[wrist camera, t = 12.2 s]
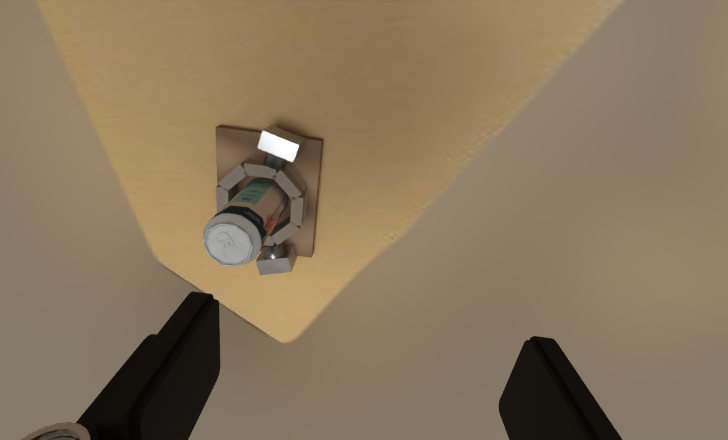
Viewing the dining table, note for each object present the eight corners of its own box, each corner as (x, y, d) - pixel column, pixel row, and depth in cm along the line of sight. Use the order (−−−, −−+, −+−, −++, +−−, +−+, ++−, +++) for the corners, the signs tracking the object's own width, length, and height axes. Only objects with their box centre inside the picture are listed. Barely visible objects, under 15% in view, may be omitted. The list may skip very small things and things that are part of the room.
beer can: (262, 222, 41) (223, 280, 30) (237, 188, 39) (185, 235, 28) (297, 203, 40) (269, 255, 29) (272, 167, 38) (233, 207, 27)
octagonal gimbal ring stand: (220, 125, 38) (203, 131, 34) (322, 139, 38) (317, 147, 34) (223, 241, 43) (209, 258, 39) (313, 252, 44) (307, 270, 40)
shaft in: (295, 166, 38) (288, 175, 35) (263, 153, 38) (253, 161, 34) (305, 138, 37) (298, 145, 34) (272, 124, 36) (262, 130, 33)
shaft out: (261, 235, 42) (252, 249, 38) (291, 232, 41) (285, 246, 38) (268, 259, 43) (259, 275, 40) (297, 256, 43) (291, 271, 39)
